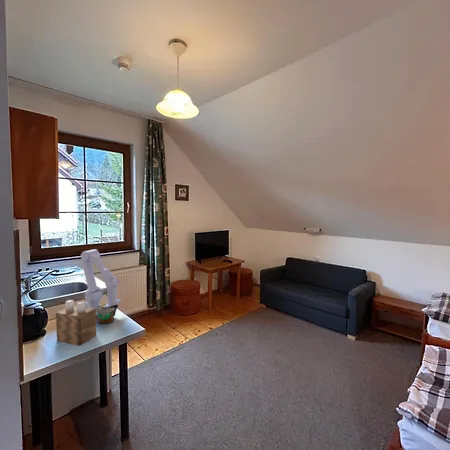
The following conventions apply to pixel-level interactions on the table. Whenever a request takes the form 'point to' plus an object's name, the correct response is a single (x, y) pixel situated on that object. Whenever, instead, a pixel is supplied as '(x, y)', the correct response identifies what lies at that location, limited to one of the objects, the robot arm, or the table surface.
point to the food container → (105, 315)
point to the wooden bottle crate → (76, 326)
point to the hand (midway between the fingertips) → (112, 316)
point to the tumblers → (79, 306)
